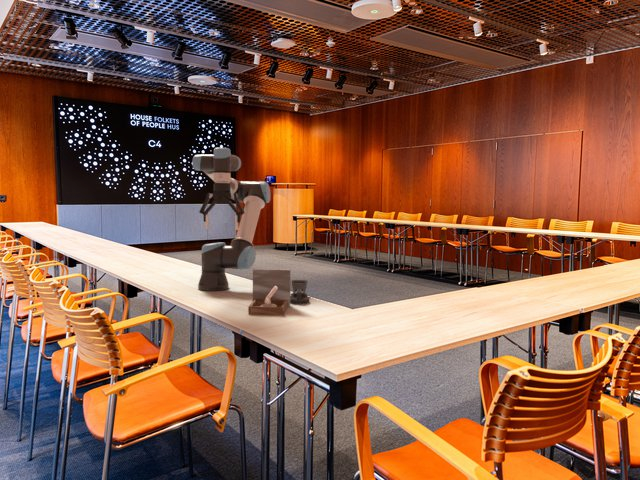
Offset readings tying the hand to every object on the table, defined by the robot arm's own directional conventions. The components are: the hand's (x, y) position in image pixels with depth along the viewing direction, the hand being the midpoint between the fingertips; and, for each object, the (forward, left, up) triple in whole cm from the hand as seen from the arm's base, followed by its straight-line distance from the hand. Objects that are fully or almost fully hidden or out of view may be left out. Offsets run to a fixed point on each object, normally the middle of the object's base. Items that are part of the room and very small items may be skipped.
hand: (222, 229), depth 219 cm
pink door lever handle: (+22, +25, -31) cm, 46 cm away
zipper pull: (-4, +35, -32) cm, 48 cm away
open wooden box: (+21, +25, -32) cm, 45 cm away
